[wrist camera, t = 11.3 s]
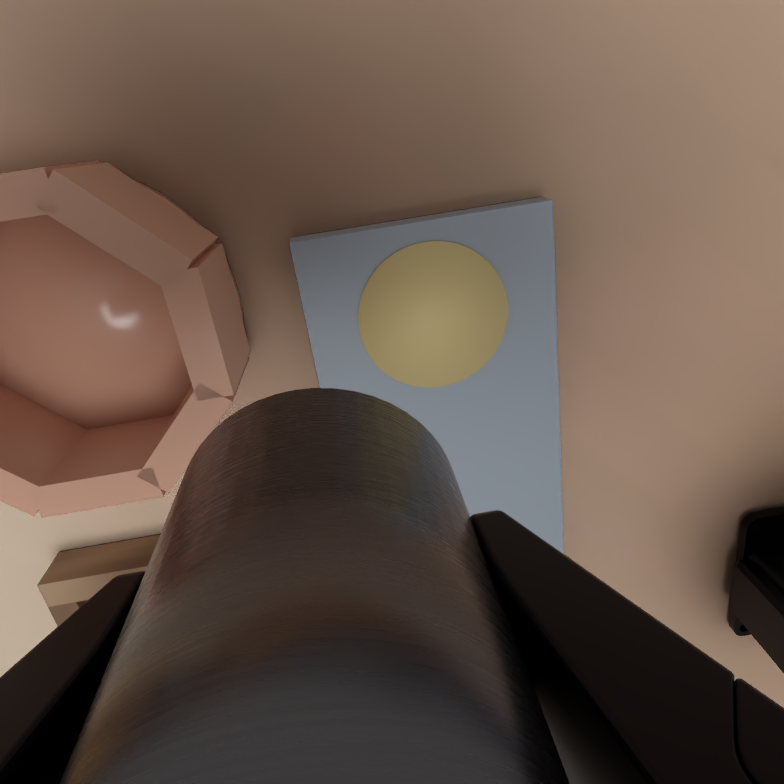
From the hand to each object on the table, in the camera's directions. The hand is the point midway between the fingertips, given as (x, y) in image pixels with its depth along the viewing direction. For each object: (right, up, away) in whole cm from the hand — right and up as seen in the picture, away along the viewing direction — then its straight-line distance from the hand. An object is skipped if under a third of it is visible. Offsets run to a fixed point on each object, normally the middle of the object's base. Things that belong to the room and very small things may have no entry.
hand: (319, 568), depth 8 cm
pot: (-8, +5, +11) cm, 15 cm away
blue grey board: (+3, 0, +15) cm, 15 cm away
